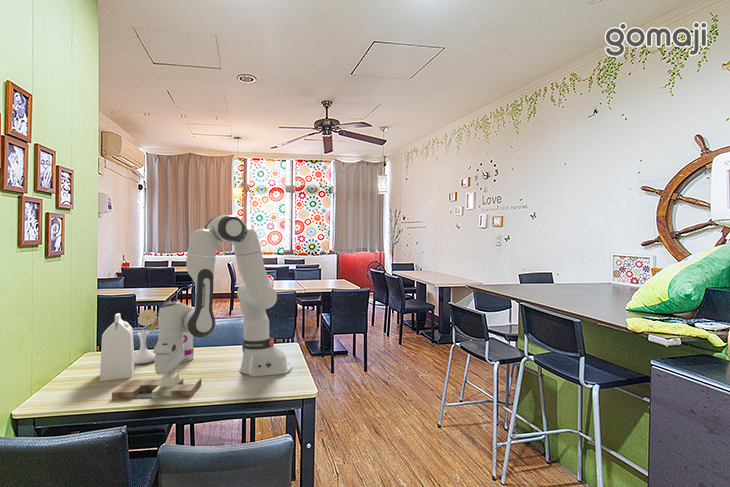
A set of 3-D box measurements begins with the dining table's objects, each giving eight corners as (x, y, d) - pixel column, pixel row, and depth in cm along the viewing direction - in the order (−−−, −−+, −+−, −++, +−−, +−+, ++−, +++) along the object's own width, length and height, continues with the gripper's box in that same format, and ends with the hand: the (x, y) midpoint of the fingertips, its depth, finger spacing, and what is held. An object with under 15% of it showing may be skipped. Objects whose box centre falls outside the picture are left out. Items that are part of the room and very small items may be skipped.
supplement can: (187, 362, 197) (187, 330, 197) (171, 361, 198) (171, 330, 198) (196, 357, 205) (196, 327, 205) (181, 356, 207) (181, 326, 206)
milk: (104, 372, 183) (104, 312, 183) (134, 368, 188) (134, 311, 187) (99, 381, 172) (99, 318, 172) (131, 377, 177) (131, 315, 176)
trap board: (201, 384, 169) (201, 378, 169) (191, 397, 156) (191, 390, 156) (128, 386, 166) (128, 379, 166) (111, 399, 153) (111, 392, 153)
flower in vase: (123, 365, 193) (123, 311, 192) (141, 358, 204) (140, 306, 204) (148, 367, 191) (148, 312, 190) (165, 359, 202) (164, 307, 201)
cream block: (179, 381, 164) (179, 372, 164) (174, 386, 159) (174, 377, 159) (166, 381, 164) (165, 372, 164) (160, 387, 159) (160, 378, 159)
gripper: (172, 336, 175) (173, 369, 175) (151, 350, 154) (151, 387, 155) (188, 336, 175) (188, 369, 175) (168, 350, 155) (169, 387, 155)
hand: (171, 378), depth 165 cm, fingers closed
